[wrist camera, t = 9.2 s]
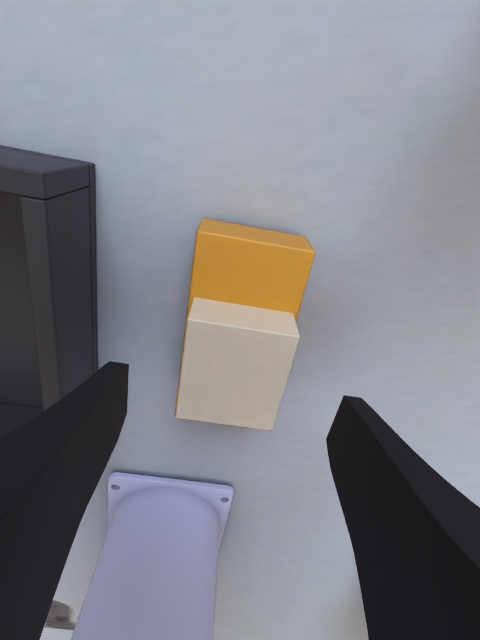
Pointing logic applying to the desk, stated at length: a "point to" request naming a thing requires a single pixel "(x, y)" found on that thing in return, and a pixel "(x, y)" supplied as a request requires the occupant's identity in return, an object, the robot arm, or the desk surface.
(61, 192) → the storage box
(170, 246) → the desk surface
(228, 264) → the two-tone block
